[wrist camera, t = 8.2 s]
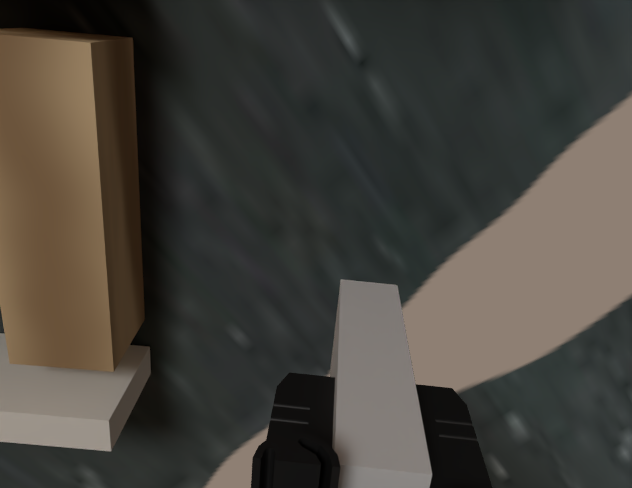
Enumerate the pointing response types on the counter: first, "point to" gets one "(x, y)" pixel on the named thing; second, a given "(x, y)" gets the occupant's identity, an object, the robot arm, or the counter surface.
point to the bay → (69, 401)
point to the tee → (69, 199)
